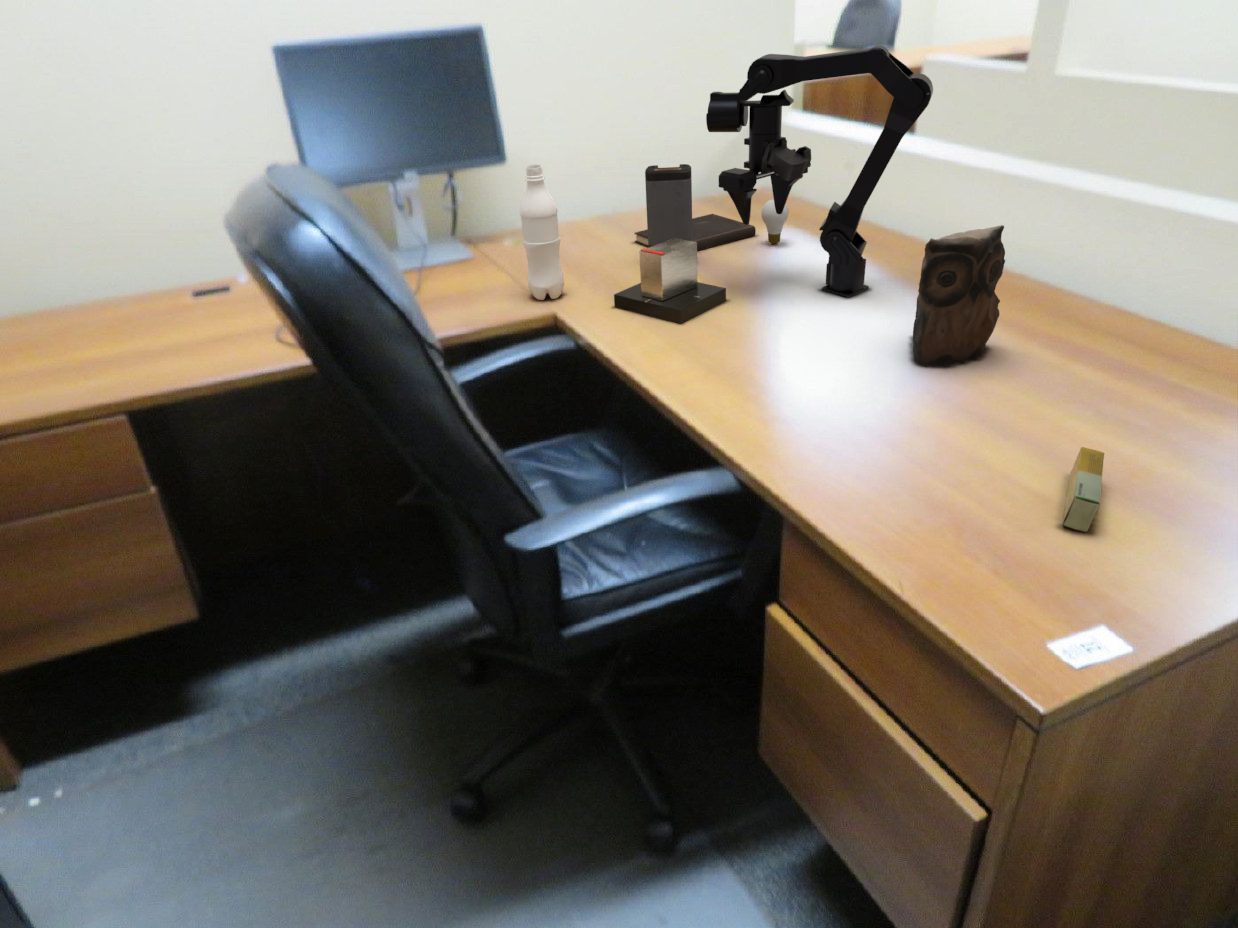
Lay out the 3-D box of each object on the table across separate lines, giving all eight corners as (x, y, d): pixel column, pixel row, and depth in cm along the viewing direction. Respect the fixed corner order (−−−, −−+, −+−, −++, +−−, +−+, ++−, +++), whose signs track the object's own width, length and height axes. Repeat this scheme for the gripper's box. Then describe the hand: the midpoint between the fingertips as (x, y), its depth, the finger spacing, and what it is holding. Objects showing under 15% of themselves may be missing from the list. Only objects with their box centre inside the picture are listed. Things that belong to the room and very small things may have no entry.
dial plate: (726, 300, 162) (726, 287, 161) (680, 324, 153) (680, 309, 152) (661, 286, 172) (660, 273, 170) (614, 307, 163) (613, 293, 161)
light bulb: (789, 247, 188) (791, 201, 183) (762, 249, 189) (763, 203, 184) (785, 240, 193) (787, 195, 188) (759, 241, 194) (760, 196, 189)
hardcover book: (634, 242, 199) (634, 232, 198) (712, 223, 209) (712, 213, 208) (675, 257, 187) (675, 247, 186) (755, 236, 198) (755, 226, 196)
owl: (994, 346, 137) (1017, 221, 126) (980, 377, 127) (1003, 245, 117) (914, 335, 142) (929, 215, 132) (894, 364, 133) (909, 237, 123)
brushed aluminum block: (676, 281, 166) (675, 236, 161) (697, 286, 162) (697, 241, 158) (641, 295, 160) (639, 249, 156) (662, 301, 157) (661, 254, 152)
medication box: (1088, 534, 93) (1100, 505, 91) (1061, 526, 94) (1073, 497, 92) (1093, 478, 102) (1105, 450, 100) (1069, 472, 103) (1080, 444, 101)
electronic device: (693, 258, 186) (691, 163, 176) (692, 267, 181) (690, 169, 171) (650, 260, 187) (646, 165, 177) (648, 268, 182) (644, 171, 172)
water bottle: (560, 302, 167) (547, 170, 154) (525, 302, 168) (509, 171, 156) (569, 290, 173) (557, 162, 160) (535, 289, 174) (521, 163, 162)
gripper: (763, 145, 144) (761, 237, 151) (834, 128, 153) (828, 215, 161) (716, 139, 151) (716, 227, 159) (786, 123, 161) (783, 206, 169)
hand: (762, 219), depth 162 cm, fingers open, 9 cm apart
